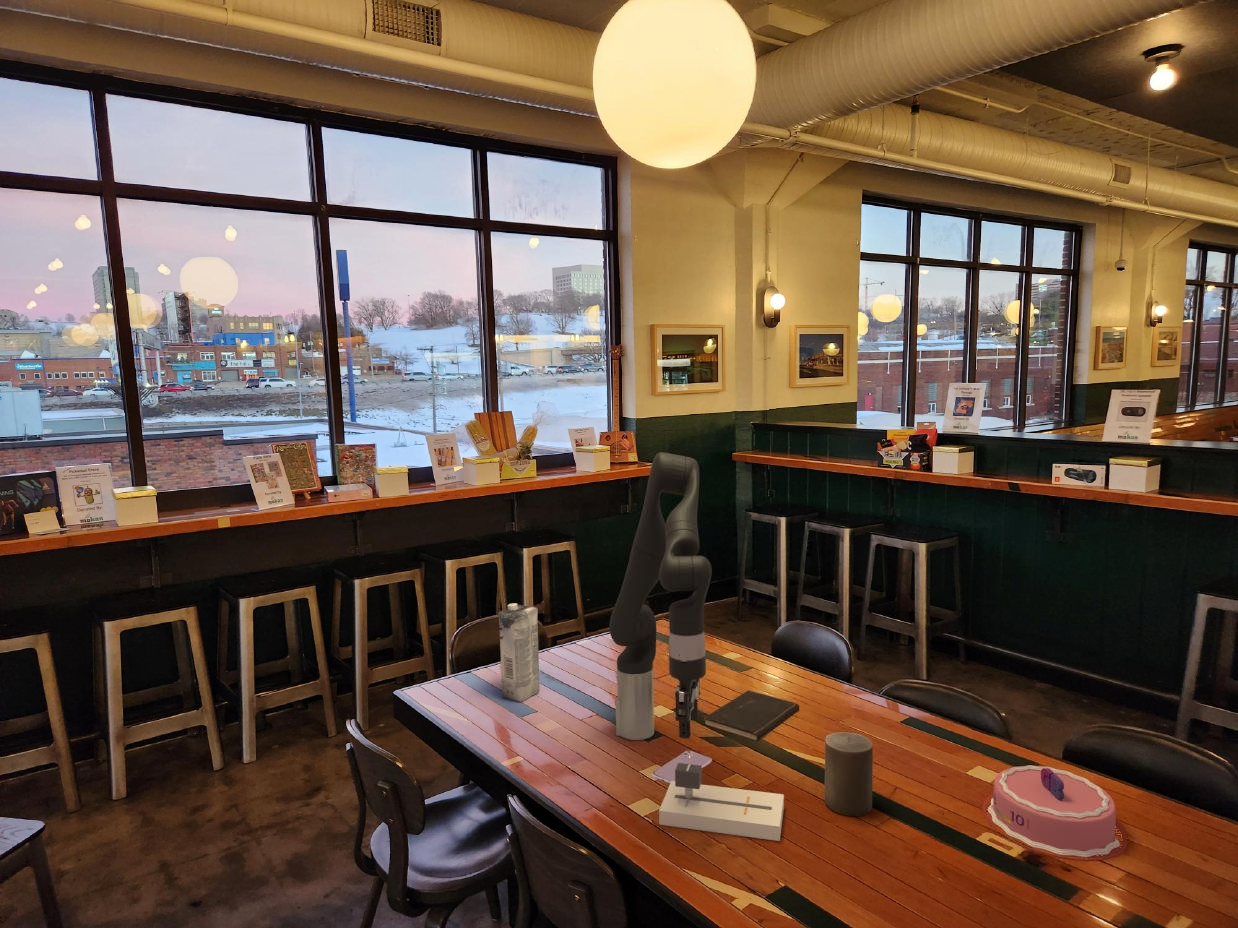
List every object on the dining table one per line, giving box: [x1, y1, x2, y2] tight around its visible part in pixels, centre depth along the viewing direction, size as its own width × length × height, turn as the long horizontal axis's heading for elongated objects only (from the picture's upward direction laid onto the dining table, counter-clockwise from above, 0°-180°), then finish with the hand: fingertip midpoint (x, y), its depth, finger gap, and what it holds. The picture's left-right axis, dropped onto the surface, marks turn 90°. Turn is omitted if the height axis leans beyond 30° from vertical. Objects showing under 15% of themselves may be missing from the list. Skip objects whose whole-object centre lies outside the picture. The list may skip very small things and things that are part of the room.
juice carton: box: [497, 602, 541, 703], centre depth 220 cm, size 9×10×27 cm
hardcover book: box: [703, 689, 800, 742], centre depth 203 cm, size 16×23×2 cm
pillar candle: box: [824, 731, 874, 817], centre depth 159 cm, size 10×10×15 cm
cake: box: [982, 764, 1128, 862], centre depth 151 cm, size 25×25×11 cm
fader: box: [675, 763, 703, 799], centre depth 157 cm, size 5×3×6 cm, turn 74°
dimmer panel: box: [658, 781, 785, 842], centre depth 156 cm, size 24×12×3 cm, turn 74°
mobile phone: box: [651, 750, 713, 784], centre depth 177 cm, size 8×1×15 cm
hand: (688, 728), depth 156 cm, fingers open, 8 cm apart
